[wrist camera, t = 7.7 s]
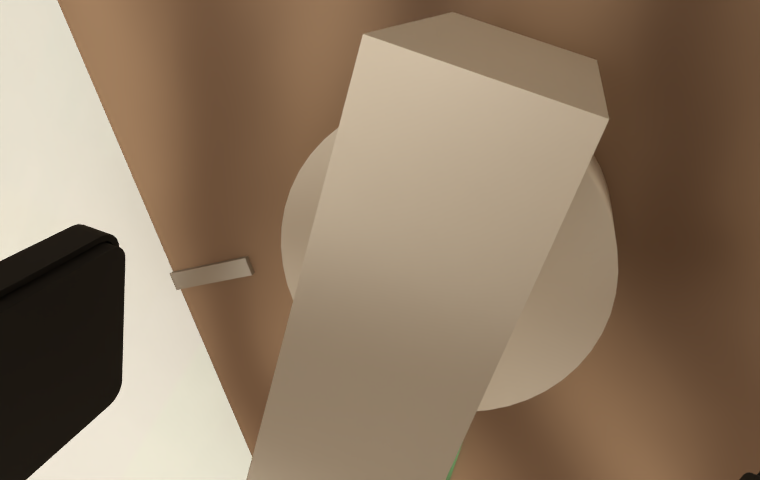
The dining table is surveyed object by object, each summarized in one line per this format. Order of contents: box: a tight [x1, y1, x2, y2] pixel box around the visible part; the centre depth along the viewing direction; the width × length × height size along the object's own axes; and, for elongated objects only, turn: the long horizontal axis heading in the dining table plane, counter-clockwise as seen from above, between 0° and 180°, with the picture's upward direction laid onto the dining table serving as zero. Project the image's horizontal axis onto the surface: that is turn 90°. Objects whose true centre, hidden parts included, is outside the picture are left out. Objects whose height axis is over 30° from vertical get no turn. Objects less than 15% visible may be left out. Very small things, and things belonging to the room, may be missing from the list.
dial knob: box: [247, 12, 618, 480], centre depth 15 cm, size 16×8×9 cm, turn 163°
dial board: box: [58, 0, 760, 480], centre depth 19 cm, size 20×20×2 cm
